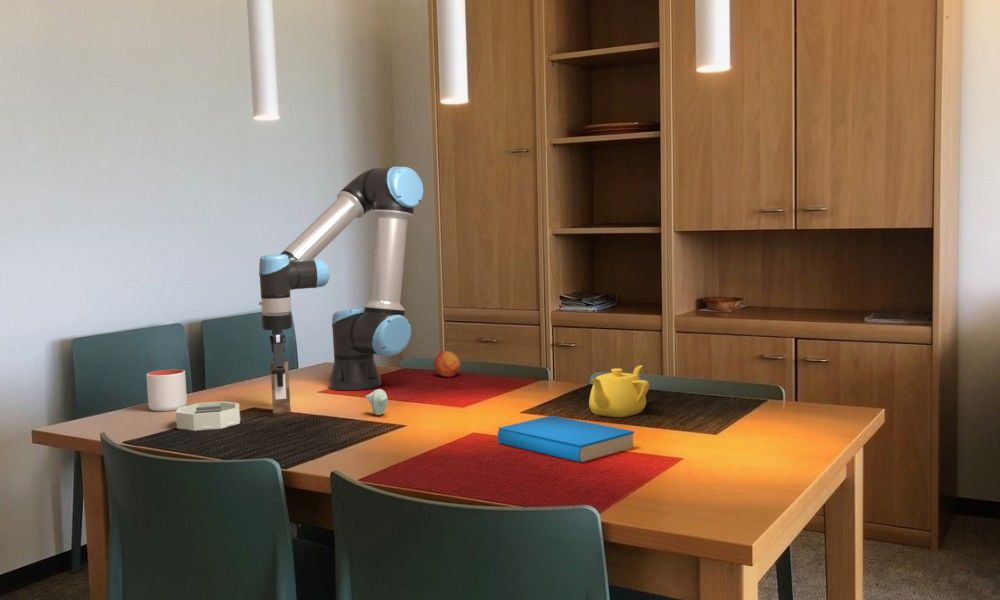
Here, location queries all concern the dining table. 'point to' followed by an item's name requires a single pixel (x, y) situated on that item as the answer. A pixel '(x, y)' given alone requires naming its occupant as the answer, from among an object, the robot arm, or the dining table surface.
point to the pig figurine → (378, 401)
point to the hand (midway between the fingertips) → (280, 394)
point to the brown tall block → (284, 404)
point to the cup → (166, 390)
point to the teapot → (618, 393)
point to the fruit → (447, 364)
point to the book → (566, 438)
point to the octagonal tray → (208, 416)
